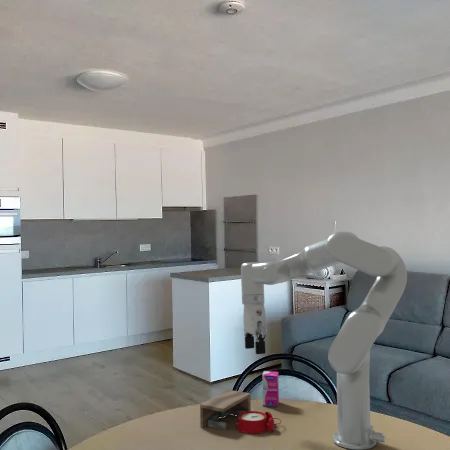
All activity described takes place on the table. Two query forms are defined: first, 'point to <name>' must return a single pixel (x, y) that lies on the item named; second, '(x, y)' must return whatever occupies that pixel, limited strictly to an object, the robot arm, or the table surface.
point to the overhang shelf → (223, 408)
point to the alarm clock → (255, 422)
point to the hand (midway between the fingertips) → (255, 351)
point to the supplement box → (270, 388)
